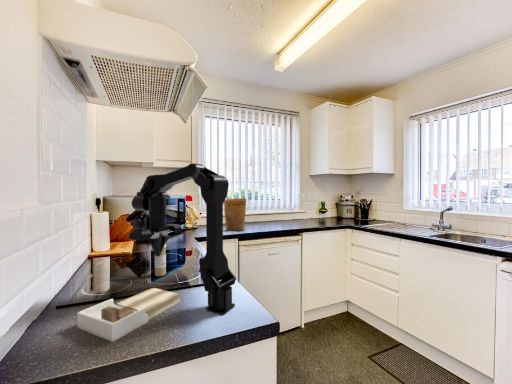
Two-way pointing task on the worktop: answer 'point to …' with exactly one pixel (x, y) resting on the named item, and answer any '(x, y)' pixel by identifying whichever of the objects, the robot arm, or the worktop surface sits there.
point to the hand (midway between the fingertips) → (157, 256)
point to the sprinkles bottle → (160, 263)
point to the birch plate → (151, 301)
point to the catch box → (105, 329)
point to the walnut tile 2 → (124, 312)
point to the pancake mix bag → (235, 214)
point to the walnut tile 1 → (110, 314)
